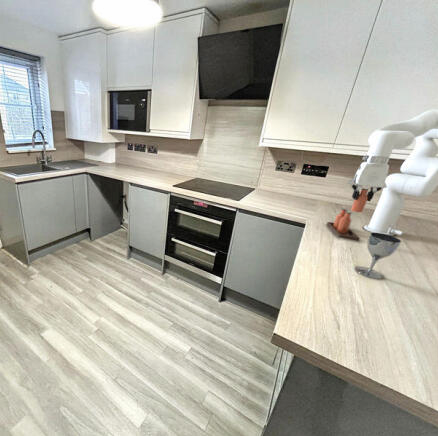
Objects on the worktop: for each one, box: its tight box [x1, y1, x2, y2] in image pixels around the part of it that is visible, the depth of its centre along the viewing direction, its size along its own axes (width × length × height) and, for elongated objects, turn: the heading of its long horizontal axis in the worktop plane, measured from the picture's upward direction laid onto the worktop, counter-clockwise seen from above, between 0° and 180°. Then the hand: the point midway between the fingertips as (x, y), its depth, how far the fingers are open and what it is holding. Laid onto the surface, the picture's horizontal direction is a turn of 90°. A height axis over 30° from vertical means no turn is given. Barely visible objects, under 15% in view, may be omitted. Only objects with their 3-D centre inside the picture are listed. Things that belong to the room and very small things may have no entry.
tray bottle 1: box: [333, 207, 348, 229], centre depth 127 cm, size 4×4×11 cm
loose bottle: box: [350, 187, 370, 213], centre depth 111 cm, size 4×4×11 cm
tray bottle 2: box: [337, 211, 353, 234], centre depth 122 cm, size 4×4×11 cm
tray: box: [326, 221, 361, 242], centre depth 124 cm, size 19×8×2 cm, turn 159°
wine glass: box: [356, 232, 402, 280], centre depth 86 cm, size 8×8×15 cm
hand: (361, 199), depth 111 cm, fingers closed on loose bottle, 4 cm apart
